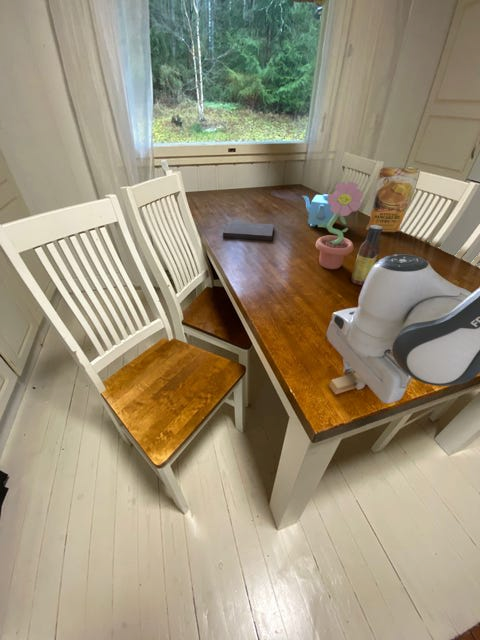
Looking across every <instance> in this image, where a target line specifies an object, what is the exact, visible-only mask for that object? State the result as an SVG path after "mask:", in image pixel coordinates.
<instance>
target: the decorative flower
mask: <svg viewBox="0 0 480 640" xmlns="http://www.w3.org/2000/svg"><path fill="white" fill-rule="evenodd" d="M362 199H363V192H362V190H361V189H359V188H358V183H356V182H354V181H348V182H347V183H346V182H345V181H342V182H339V183H337V184H336V186H335V190H334V192H333V193H329V194H328V197H327V202H328V204H331V208H330V210H331V211H332V212H333V213H334V216H333V217H332V219H331V220H330V221H329V224H328V223H325V222H324V223H321V224H319V225H317V228H324V227H325V226H327V225H328V226H327V228H326V230H327V231H328V232H329V233H331V234H334V235H330V234H329V235H324V236H321V237H319V238H318V239H317V240H316V241H315V247H316V249H317V250H318V251H319V259H318V263H319V265H320V267H322V268H325V269H328V270H337V269H339V268H340V267H341V266H342V265H343V262H344V260H345V258H346V257H345V256H347V255H349V254H351V253H352V252H353V250H354V248H355V247H354V243H353V242H352V240H350V239H348V238H346V237H344V233H345V232H347V231H349V228H348V227H346V228H344V229H342V230H341V229H337V228H334V227H333V225H334V224H335V222H336V221H337V219H338V218H339V220H340V222H341V223H342V224H343V225H347V221H346V218H345V217H347V216H349V215H350V214H352V213H353V212H356V211H358V210H359V209H360V207H361V206H362V203H361V201H362Z"/></svg>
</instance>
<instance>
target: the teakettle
mask: <svg viewBox="0 0 480 640" xmlns="http://www.w3.org/2000/svg"><path fill="white" fill-rule="evenodd" d="M328 195H329V194H328V193H327V194H326V193H324V194H315V195H314V197H313V199H311V201H310V199H309V197H308V196H307V195H301V197H302V198H303V199H304V202H305V207H306V211H307V212H308V217H307V218H308V219H307V224H309V226H310V227H316V226H318V225H319V224H321V223H324V222H325V223H328V224H329V221H330V220H331V219H332V217H333V216H334V213H333V212H332V211H331V210H330V208H331V204H328V202H327V197H328ZM327 226H328V225H327ZM327 226H325V227H323V228H324V229H327Z"/></svg>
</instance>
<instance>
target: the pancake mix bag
mask: <svg viewBox="0 0 480 640" xmlns="http://www.w3.org/2000/svg"><path fill="white" fill-rule="evenodd" d="M378 172H379V173H378V175H377V179H376V186H375V191H374V196H373V205H372V207H371V212H370V218H369V222H368V224H367V226H366V229H365V230H366V231H368V229H369V226H371V225H377V226H381V227H382V228H383V229H382V232H381V233H396V232H400V228H401V225H402V223H403V221H404V219H405V216H406V214H407V211H408V209H409V206H410V205H411V204H410V203H411V202H412V199H413V197H414V195H415V191H416V187H417V184H418V180H419V177H420V173H421V170H419V168H415V167H413V168H411V167H408V168H407V167H382V168H380V169H379V171H378Z"/></svg>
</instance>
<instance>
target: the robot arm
mask: <svg viewBox="0 0 480 640" xmlns="http://www.w3.org/2000/svg"><path fill="white" fill-rule="evenodd" d="M357 304H358V305H357V306H355V307H350V308H345V309H341V310H338V311H335V312H332V315H331V321H330V322H329V325H328V327H327V330H326V339H327V342H329V344H330V345H331V346H332V347H333V348H334V349H335V351H336V352H337V353H338V354H339V355H340V356H341V357H342V364H343V370H342V373H343V375H344V376H346V375H349V374H352V373H357V374H358V375H359V376H360V377H361V378H360V379H359V380H358V379H357V380H355V381H354V383H353V385H354V386H355V387H356V388H355V389H356V390H362V389H363V388H365V386H367V387H368V389H370V390H371V391H372V393H373V394H374V395H375V396H376V397H377V398H378V399H379V401H380V402H381V403H382V404H385V405H386V404H387V405H388V404H389V405H390V404H393V403H396V402H398V401H400V400H401V399H402V398H403V397H404V394H405V392H406V390H407V387H408V386H409V384H410V383H411V381H412V378H413V379H414V380H415V381H418V382H420V383H423V384H426V385H430V386H434V387H435V386H436V387H454V386H459V385H463V384H466V383H468V382H471V381H472V380H473V379H475V378H476V377H477V376H478V375H479V374H480V286H479V287H478V288H476V289H475V290H474V291H471V290H469V289H467V288H464V287H462V286H458V285H456V284H454V283H453V282H450V281H448V279H445V278H444V277H443V276H441V275H440V274H439V273H437V271H436V270H434V269H433V267H432V265H431V264H430V263H429V261H428V260H426V259H425V258H423V257H420V256H417V255H414V254H406V253H404V254H403V253H400V254H399V253H398V254H392V255H386V256H384V257H383V258H380V259H379V260H378V261H376V263H375V264H374V265H373V267H372V268H371V270H370V272H369V274H368V276H367V278H366V280H365V282H364V285H362V287H361V290H360V293H359V295H358V303H357ZM365 384H367V385H365Z"/></svg>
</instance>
